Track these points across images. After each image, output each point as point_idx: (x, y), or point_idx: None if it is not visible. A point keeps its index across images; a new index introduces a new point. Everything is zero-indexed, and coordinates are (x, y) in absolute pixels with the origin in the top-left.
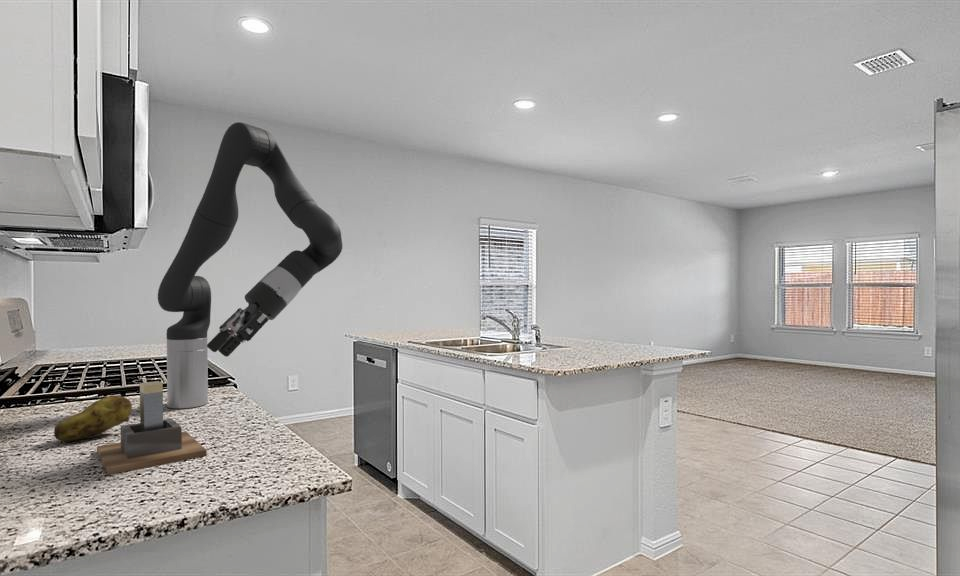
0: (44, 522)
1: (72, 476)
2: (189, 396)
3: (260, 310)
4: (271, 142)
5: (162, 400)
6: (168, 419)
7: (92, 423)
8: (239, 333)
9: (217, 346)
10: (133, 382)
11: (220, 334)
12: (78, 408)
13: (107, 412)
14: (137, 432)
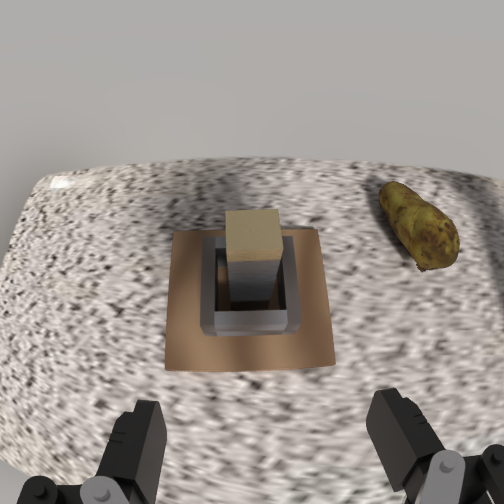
0: (77, 187)
1: (203, 204)
2: None
3: None
4: None
5: (228, 271)
6: (295, 315)
7: (391, 217)
8: (39, 478)
9: (377, 436)
10: None
11: (411, 457)
12: None
13: (404, 227)
14: (280, 266)
